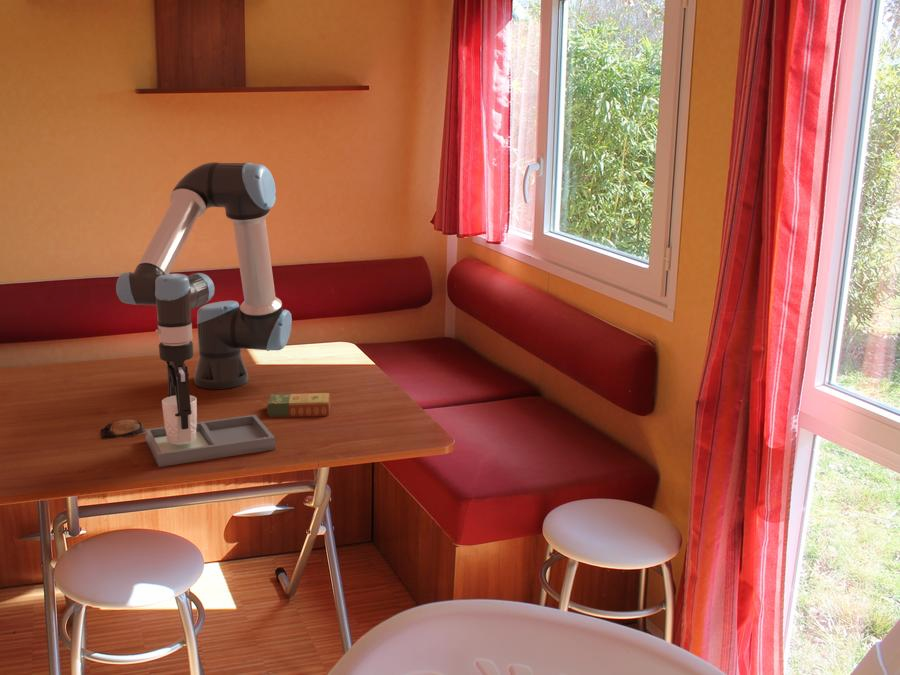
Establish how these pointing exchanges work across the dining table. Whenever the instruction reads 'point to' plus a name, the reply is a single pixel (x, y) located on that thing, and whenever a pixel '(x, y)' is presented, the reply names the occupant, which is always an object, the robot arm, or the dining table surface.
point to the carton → (299, 404)
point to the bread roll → (122, 429)
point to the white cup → (171, 421)
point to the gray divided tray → (212, 441)
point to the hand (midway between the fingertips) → (181, 435)
